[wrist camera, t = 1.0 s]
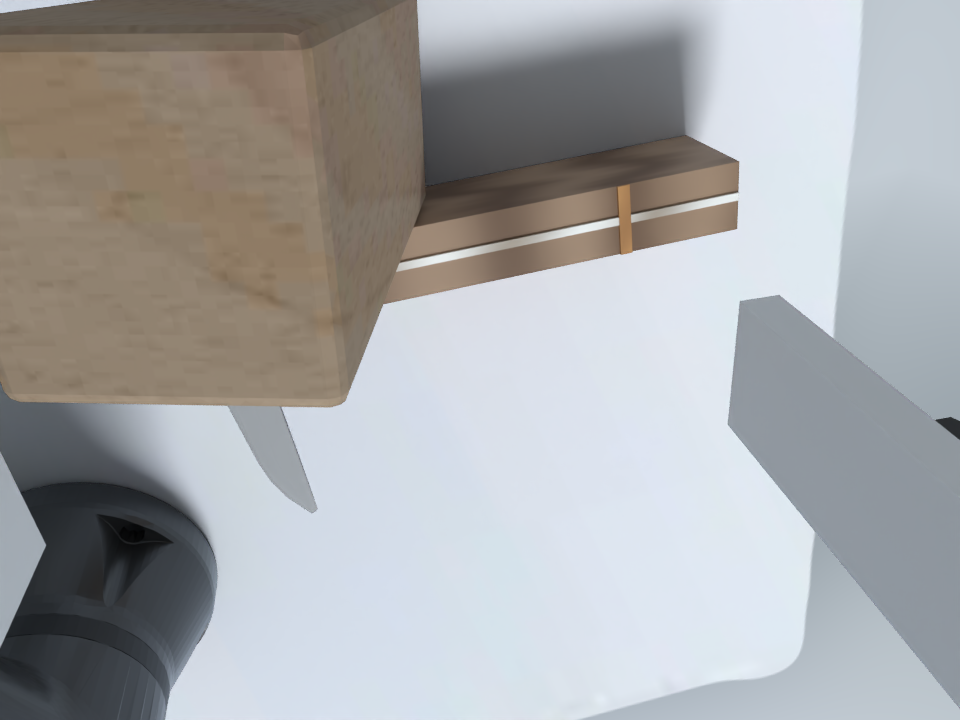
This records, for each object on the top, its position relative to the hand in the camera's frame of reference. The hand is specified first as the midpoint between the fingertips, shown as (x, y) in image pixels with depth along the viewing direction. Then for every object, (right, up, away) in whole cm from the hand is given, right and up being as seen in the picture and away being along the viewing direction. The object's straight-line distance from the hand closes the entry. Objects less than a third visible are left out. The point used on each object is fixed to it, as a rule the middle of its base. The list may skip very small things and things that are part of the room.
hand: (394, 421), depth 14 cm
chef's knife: (-12, -2, +32) cm, 34 cm away
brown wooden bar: (+2, +10, +29) cm, 30 cm away
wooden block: (-6, +14, +23) cm, 28 cm away
